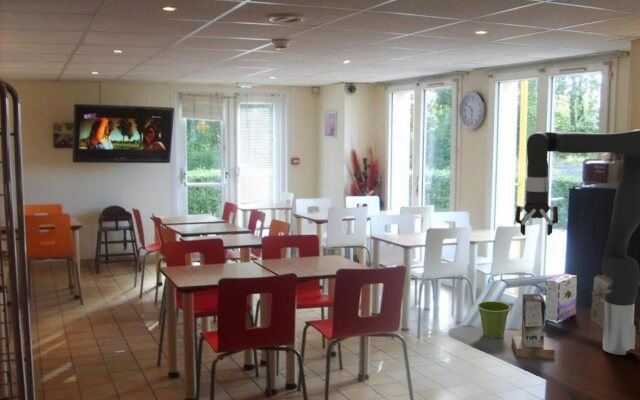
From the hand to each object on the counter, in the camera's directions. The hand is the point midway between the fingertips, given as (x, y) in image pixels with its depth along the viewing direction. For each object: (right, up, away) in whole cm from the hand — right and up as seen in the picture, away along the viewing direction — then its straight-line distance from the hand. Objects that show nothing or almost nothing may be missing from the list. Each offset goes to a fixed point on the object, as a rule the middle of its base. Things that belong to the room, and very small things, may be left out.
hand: (536, 234), depth 235 cm
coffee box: (-4, -37, -7) cm, 38 cm away
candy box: (+18, -34, +27) cm, 47 cm away
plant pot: (-13, -38, +9) cm, 41 cm away
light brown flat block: (-3, -40, -7) cm, 40 cm away
